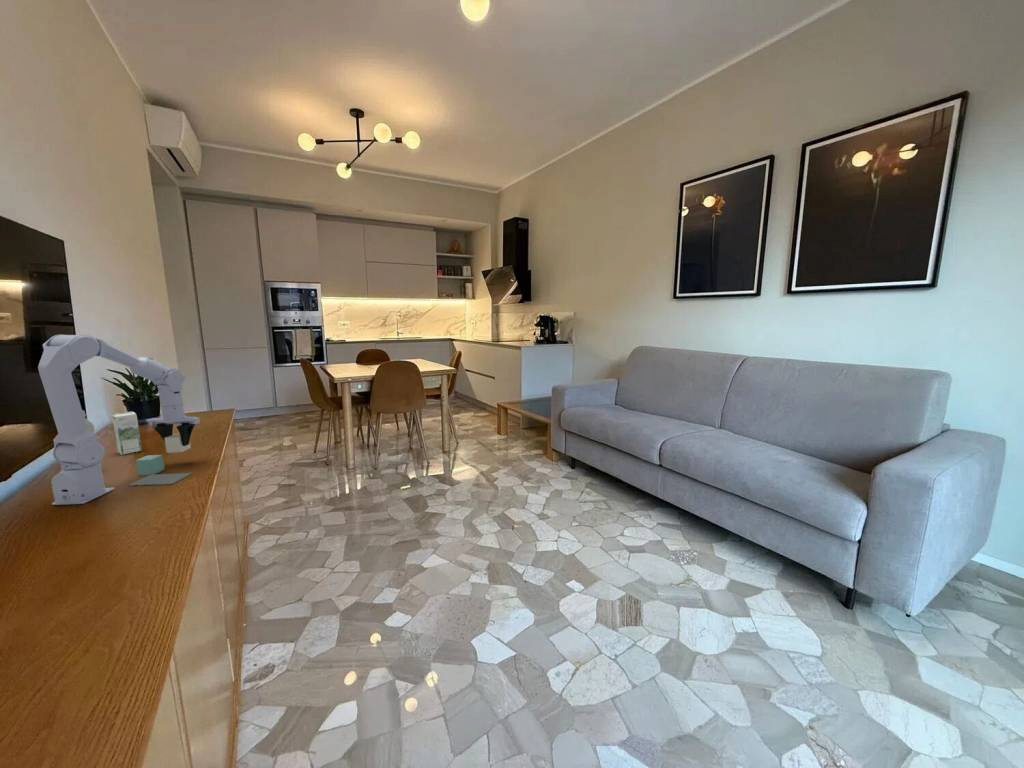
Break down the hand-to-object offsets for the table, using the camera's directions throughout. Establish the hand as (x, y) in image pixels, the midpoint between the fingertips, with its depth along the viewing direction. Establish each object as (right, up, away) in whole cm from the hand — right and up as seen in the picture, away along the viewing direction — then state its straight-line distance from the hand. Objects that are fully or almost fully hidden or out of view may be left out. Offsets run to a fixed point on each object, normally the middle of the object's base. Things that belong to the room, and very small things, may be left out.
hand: (177, 445), depth 136 cm
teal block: (-3, -8, -6) cm, 10 cm away
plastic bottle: (-23, -8, -6) cm, 26 cm away
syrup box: (-29, -5, +14) cm, 33 cm away
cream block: (0, -2, 0) cm, 2 cm away
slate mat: (+5, -9, -12) cm, 16 cm away
